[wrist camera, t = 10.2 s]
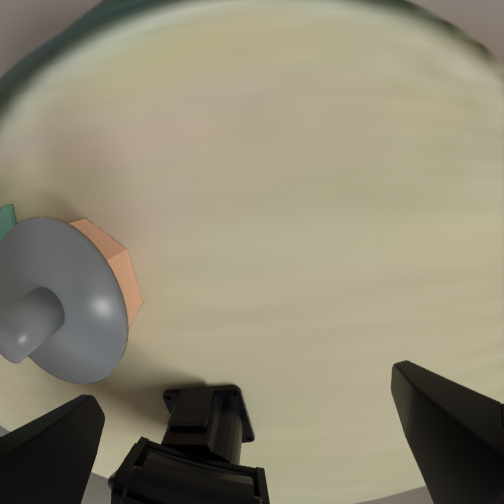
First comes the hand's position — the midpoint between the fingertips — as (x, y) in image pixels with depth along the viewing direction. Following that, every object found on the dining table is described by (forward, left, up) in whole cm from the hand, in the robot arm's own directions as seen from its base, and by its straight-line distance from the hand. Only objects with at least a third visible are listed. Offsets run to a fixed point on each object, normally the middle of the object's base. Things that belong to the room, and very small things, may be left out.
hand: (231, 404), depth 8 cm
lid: (+1, +13, -8) cm, 16 cm away
